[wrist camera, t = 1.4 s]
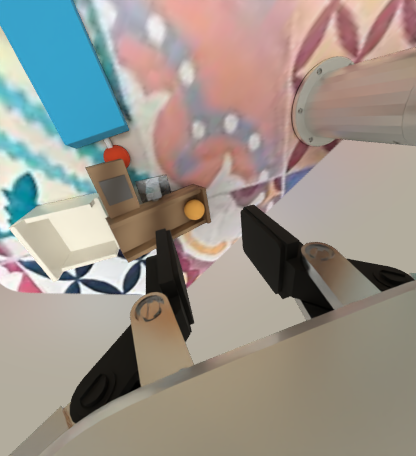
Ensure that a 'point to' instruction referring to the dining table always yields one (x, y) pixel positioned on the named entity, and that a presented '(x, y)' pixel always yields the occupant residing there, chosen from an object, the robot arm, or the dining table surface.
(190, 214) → the ball
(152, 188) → the stand
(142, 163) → the dining table surface
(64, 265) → the box
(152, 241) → the brown shallow tray
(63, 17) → the lever
